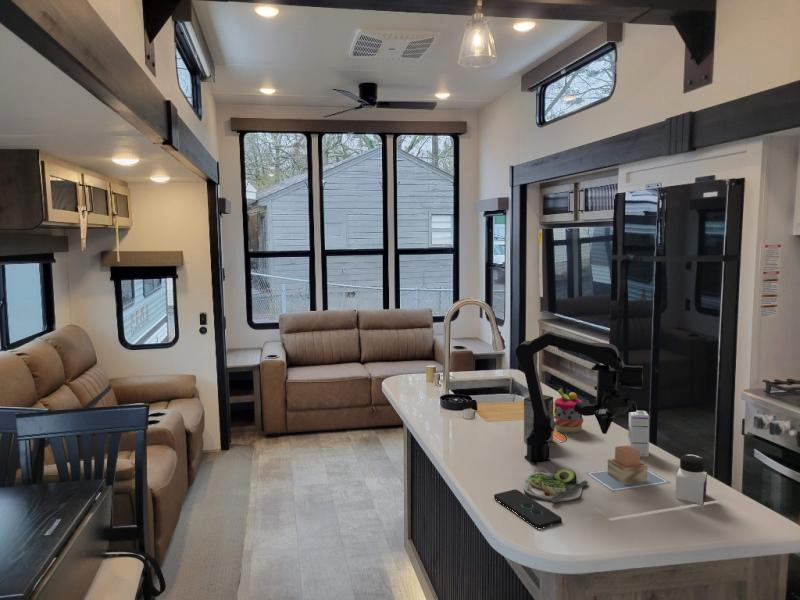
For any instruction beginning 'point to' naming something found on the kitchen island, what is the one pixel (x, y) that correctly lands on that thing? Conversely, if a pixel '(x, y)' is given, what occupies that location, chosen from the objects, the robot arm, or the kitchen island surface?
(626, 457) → the terracotta block
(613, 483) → the board
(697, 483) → the medicine bottle
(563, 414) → the cake
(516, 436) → the kitchen island surface
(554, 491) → the salad plate
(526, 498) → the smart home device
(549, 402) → the coffee box
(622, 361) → the robot arm
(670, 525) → the kitchen island surface
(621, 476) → the oak foundation
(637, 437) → the syrup box
